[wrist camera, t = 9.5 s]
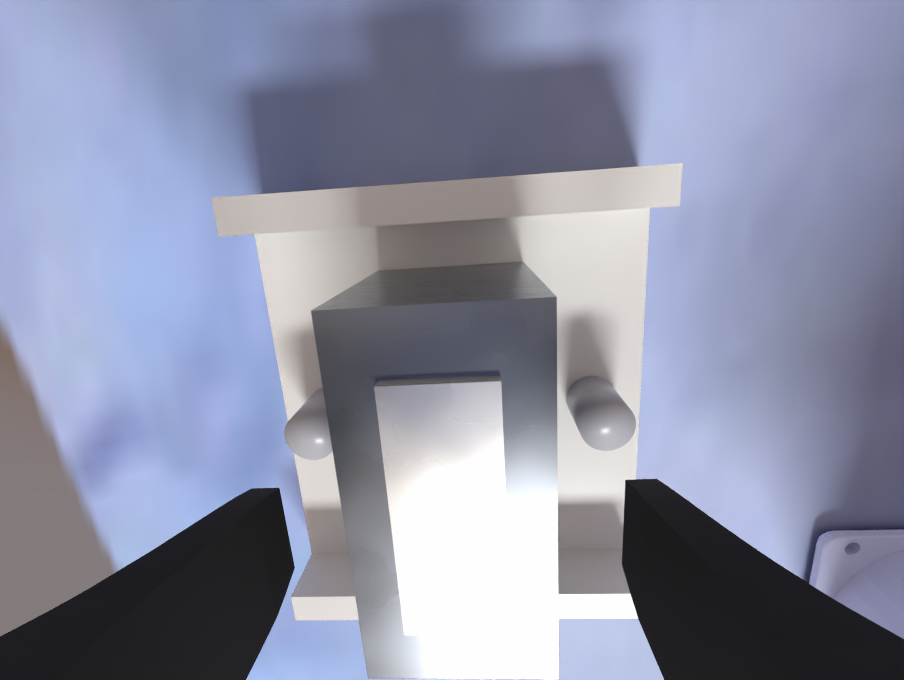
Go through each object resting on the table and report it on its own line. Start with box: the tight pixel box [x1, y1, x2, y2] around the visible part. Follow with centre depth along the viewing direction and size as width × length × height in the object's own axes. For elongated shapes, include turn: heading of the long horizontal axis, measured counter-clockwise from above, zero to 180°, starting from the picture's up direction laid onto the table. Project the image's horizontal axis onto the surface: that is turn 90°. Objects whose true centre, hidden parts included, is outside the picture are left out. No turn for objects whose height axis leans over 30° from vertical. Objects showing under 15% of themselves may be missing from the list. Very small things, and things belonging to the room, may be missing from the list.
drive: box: [311, 262, 558, 679], centre depth 12 cm, size 4×9×6 cm, turn 4°
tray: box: [211, 163, 683, 620], centre depth 15 cm, size 12×14×3 cm
